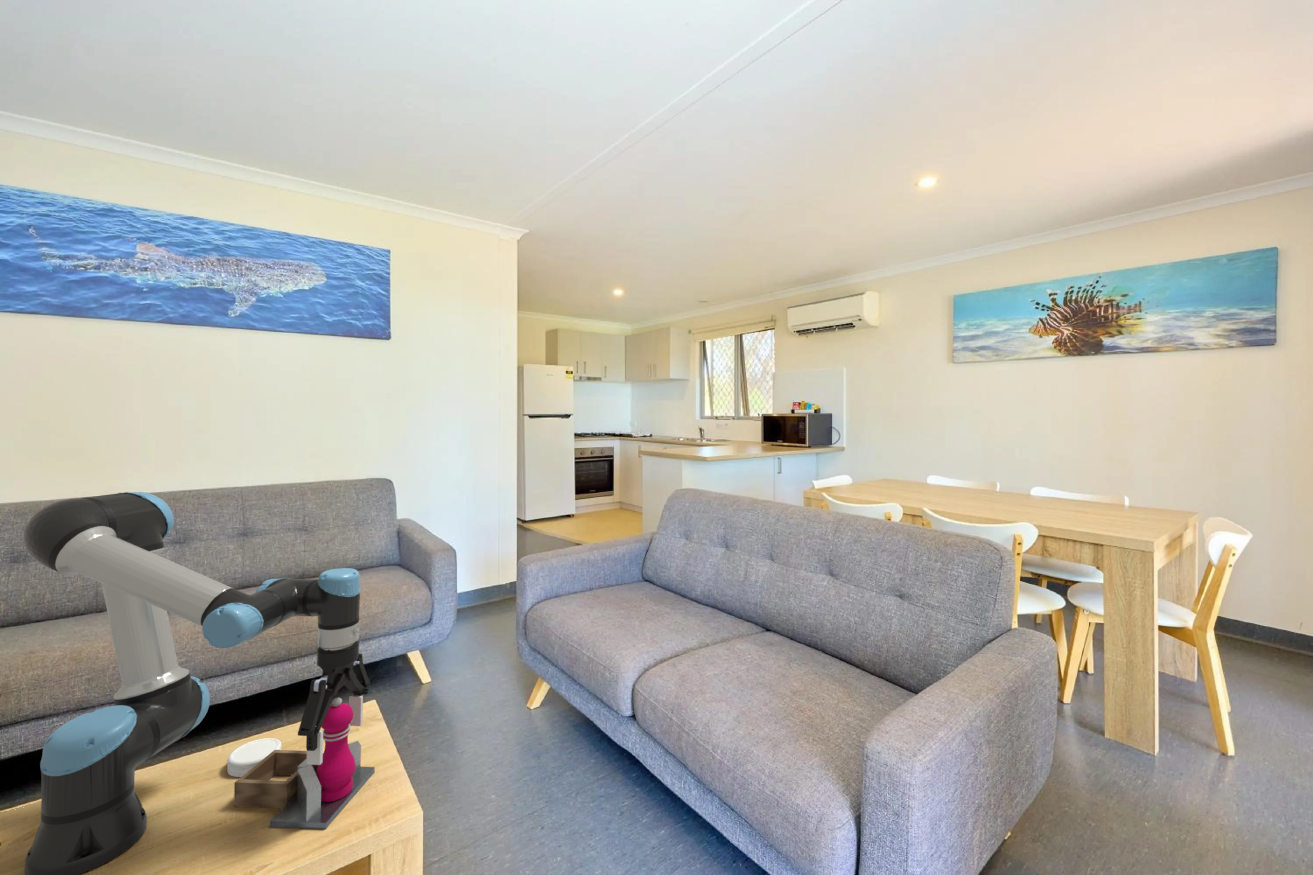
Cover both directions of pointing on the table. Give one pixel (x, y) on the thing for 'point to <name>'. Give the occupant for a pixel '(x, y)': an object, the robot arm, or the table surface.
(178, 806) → the table surface
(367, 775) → the v block
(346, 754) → the pepper mill
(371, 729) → the table surface
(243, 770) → the coaster
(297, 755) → the wooden square frame
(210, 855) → the table surface
